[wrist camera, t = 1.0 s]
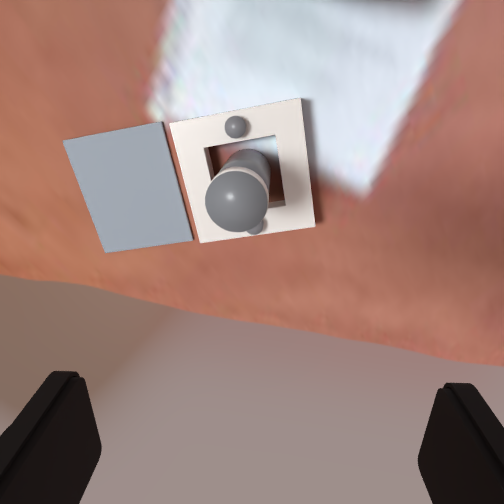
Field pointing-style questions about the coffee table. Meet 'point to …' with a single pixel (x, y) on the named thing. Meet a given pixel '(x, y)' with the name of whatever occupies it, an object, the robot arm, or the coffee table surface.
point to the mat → (130, 187)
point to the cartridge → (239, 192)
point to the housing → (239, 129)
